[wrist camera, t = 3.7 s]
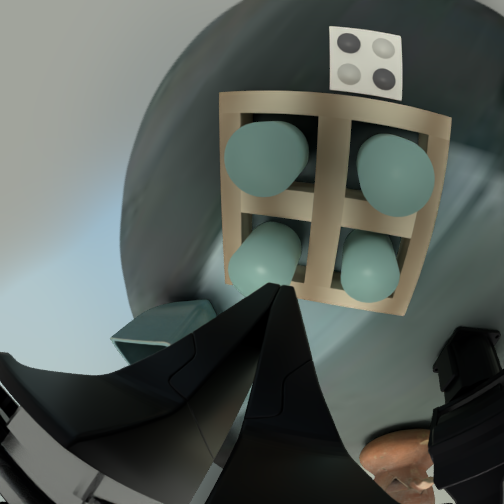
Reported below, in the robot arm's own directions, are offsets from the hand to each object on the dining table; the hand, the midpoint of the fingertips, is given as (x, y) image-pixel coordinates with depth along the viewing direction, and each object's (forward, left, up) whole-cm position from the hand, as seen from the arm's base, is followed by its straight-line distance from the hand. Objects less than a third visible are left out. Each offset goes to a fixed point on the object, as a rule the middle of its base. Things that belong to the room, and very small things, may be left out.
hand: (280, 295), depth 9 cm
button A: (-4, +4, -13) cm, 14 cm away
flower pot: (+11, +16, -13) cm, 23 cm away
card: (-3, -10, -13) cm, 16 cm away
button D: (+3, -3, -11) cm, 11 cm away
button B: (-4, -3, -10) cm, 12 cm away
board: (-1, +1, -13) cm, 13 cm away
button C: (+3, +4, -11) cm, 12 cm away
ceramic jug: (-21, +37, -13) cm, 44 cm away
